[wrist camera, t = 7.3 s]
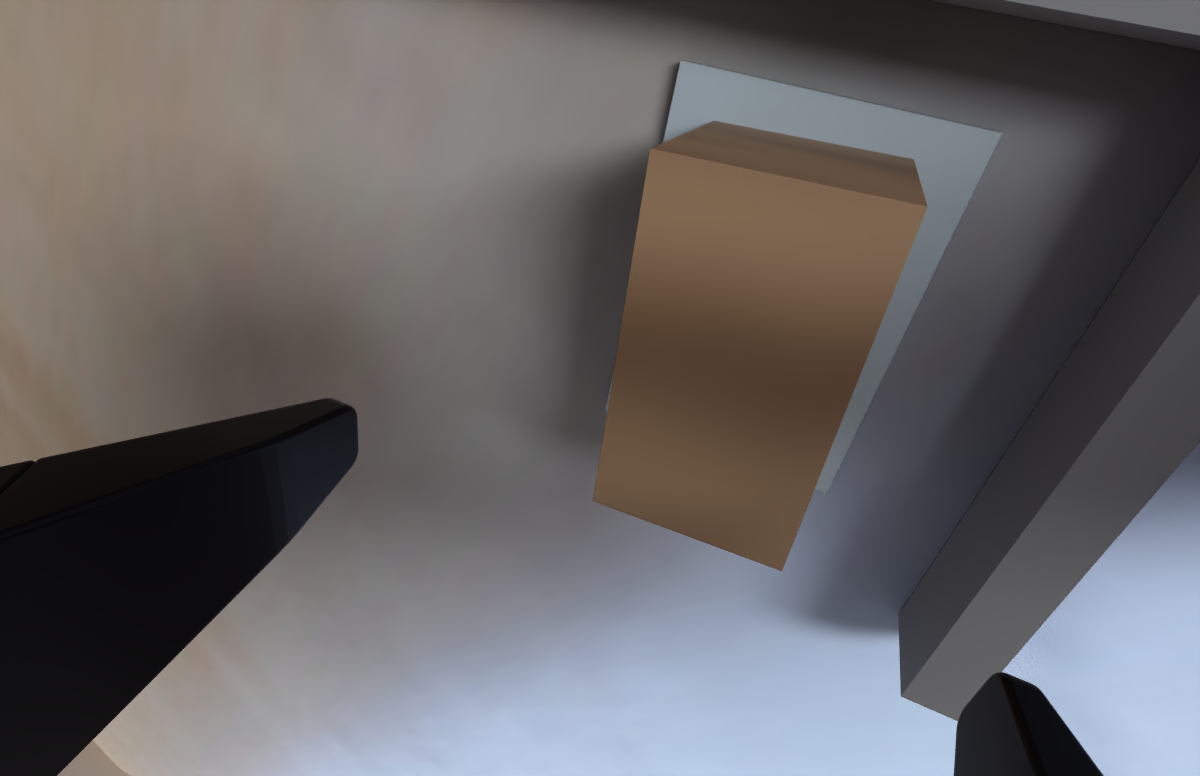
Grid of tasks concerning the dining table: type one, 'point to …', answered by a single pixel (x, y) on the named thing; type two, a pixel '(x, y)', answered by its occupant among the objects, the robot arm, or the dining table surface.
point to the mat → (936, 145)
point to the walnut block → (748, 328)
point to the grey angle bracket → (1071, 430)
